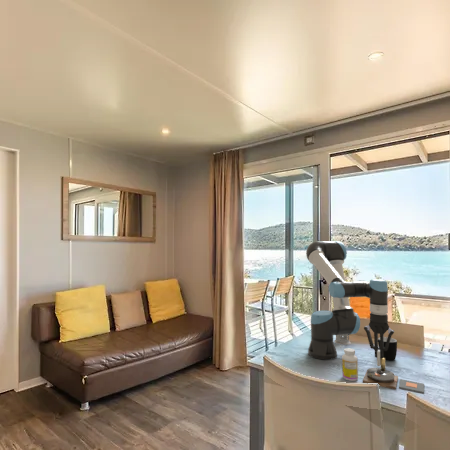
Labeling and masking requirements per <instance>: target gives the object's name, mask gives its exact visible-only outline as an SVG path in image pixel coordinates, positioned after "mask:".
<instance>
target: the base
mask: <svg viewBox="0 0 450 450" xmlns="http://www.w3.org/2000/svg"><path fill="white" fill-rule="evenodd" d="M398 381H399V376H398V375H396V374H394V381H393V382H378V381H375V380H372V379H370V378H369V377H368V376H367V371H366V372H365V375H364V376H363V378H362V383H363V384H368V383H378V384H379V385H380V386H379V387H382V388H388V389H392V390H397V386H398V383H399V382H398Z"/></svg>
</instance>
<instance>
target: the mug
mask: <svg viewBox="0 0 450 450" xmlns="http://www.w3.org/2000/svg"><path fill="white" fill-rule="evenodd" d="M387 338H388V336H384V347H385V345H386V342H387ZM378 350H380V337H378ZM397 353H398V340H397V339H395V338H393V337H391V339H390V343H389V346H388V349H387V351H383V358H385V361H387V362H394V361H395V360H396V358H397Z"/></svg>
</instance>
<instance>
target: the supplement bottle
mask: <svg viewBox="0 0 450 450" xmlns="http://www.w3.org/2000/svg"><path fill="white" fill-rule="evenodd" d="M343 352H344V354H342V356H341V363H342V365H341V367H342V370H341V371H342V378H343V379H344V380H345V381H349V382H356V381H357V380H358V379H359V362H358V360H359V359H358V357H357V355H355V354H356V349H354V348H351V347H350V348H349V347H347V348H344V349H343Z"/></svg>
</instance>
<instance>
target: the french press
mask: <svg viewBox="0 0 450 450" xmlns="http://www.w3.org/2000/svg"><path fill="white" fill-rule="evenodd" d="M333 342H334V344H339V345H342V346H343V345H344V346H345V345H346V346H347V345H351V341H350V335H335V340H333Z"/></svg>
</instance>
